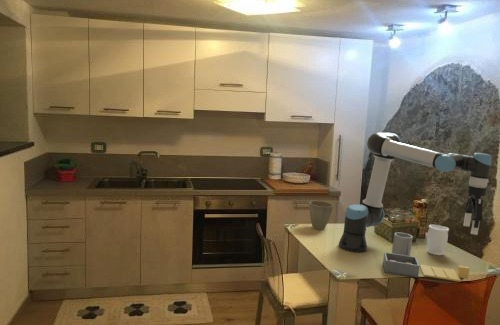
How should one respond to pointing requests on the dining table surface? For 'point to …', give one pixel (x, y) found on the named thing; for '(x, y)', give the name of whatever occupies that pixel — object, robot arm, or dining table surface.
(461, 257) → the dining table surface
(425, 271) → the lid
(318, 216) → the plant pot
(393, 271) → the tub
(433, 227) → the jar
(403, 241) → the cup
